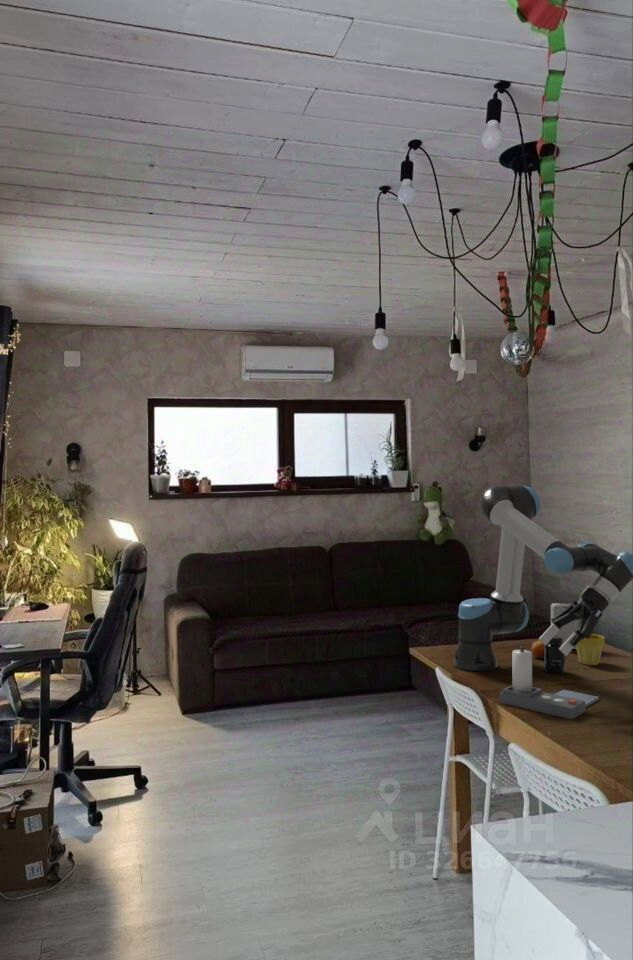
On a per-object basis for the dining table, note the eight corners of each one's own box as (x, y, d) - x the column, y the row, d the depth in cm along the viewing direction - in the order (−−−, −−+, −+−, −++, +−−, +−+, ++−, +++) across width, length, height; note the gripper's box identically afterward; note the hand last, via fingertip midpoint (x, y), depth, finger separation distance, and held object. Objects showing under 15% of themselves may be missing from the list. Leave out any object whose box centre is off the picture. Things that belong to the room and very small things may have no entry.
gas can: (590, 647, 279) (590, 584, 279) (593, 650, 274) (593, 586, 274) (550, 646, 281) (550, 583, 281) (553, 649, 276) (553, 585, 276)
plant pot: (597, 659, 260) (597, 632, 260) (609, 666, 250) (609, 638, 250) (569, 659, 260) (569, 633, 260) (581, 666, 249) (580, 639, 249)
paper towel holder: (509, 692, 208) (508, 646, 208) (517, 688, 212) (517, 643, 212) (526, 696, 204) (526, 649, 204) (535, 692, 208) (535, 646, 208)
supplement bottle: (555, 675, 238) (554, 639, 238) (540, 670, 244) (539, 636, 244) (569, 672, 241) (569, 637, 241) (554, 668, 247) (554, 634, 247)
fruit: (556, 658, 256) (544, 637, 258) (537, 666, 260) (525, 646, 262) (561, 653, 263) (549, 634, 265) (542, 662, 266) (531, 642, 269)
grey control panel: (499, 702, 208) (499, 689, 208) (513, 695, 215) (513, 682, 215) (572, 719, 193) (572, 704, 193) (585, 711, 200) (585, 697, 200)
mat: (547, 700, 210) (547, 697, 210) (563, 692, 218) (563, 689, 218) (584, 708, 203) (584, 705, 203) (599, 699, 211) (599, 696, 211)
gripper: (631, 611, 198) (581, 666, 196) (587, 597, 223) (542, 646, 221) (613, 592, 198) (562, 647, 196) (571, 581, 222) (526, 629, 220)
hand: (551, 647), depth 208 cm, fingers open, 13 cm apart
